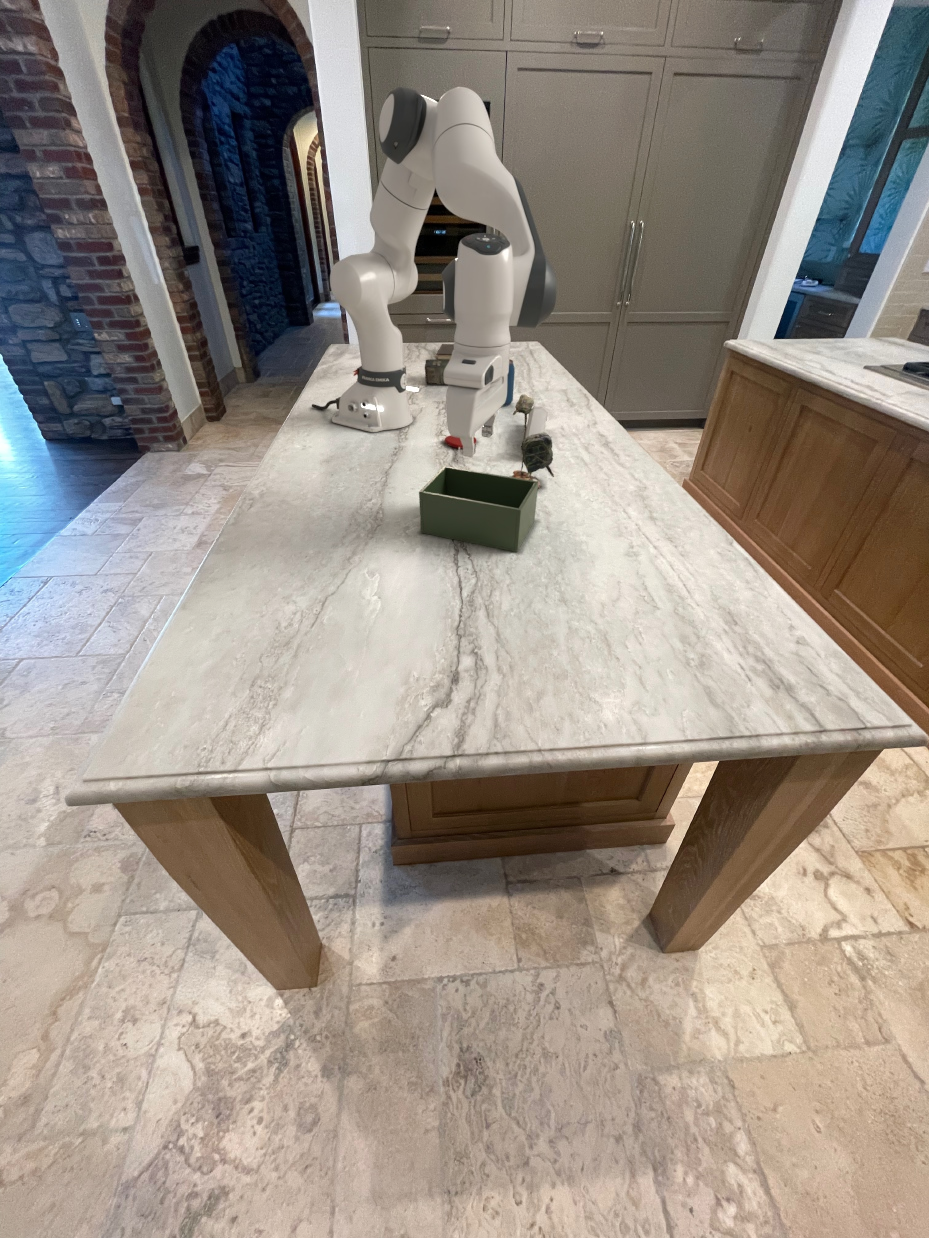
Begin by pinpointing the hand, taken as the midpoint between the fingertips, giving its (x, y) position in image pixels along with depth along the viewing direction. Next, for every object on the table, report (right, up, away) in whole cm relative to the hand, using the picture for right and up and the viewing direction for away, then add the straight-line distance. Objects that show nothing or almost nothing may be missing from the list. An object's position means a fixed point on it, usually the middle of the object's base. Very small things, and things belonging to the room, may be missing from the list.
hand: (478, 445), depth 94 cm
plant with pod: (+11, -1, +25) cm, 27 cm away
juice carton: (-5, +49, +85) cm, 98 cm away
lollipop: (-4, +11, +40) cm, 41 cm away
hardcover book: (-1, +70, +110) cm, 130 cm away
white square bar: (+15, +15, +44) cm, 49 cm away
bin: (0, -13, +10) cm, 16 cm away
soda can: (+9, +34, +67) cm, 76 cm away
